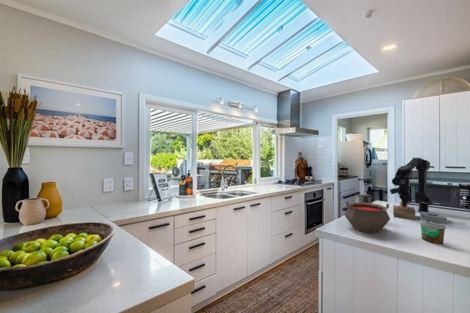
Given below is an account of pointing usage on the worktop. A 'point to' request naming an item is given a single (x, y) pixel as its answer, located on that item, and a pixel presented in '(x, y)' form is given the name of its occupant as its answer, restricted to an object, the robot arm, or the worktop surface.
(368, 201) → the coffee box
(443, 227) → the food container
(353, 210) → the faceted brown planter
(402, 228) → the worktop surface
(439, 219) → the frame
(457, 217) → the worktop surface
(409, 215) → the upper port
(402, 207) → the plug
